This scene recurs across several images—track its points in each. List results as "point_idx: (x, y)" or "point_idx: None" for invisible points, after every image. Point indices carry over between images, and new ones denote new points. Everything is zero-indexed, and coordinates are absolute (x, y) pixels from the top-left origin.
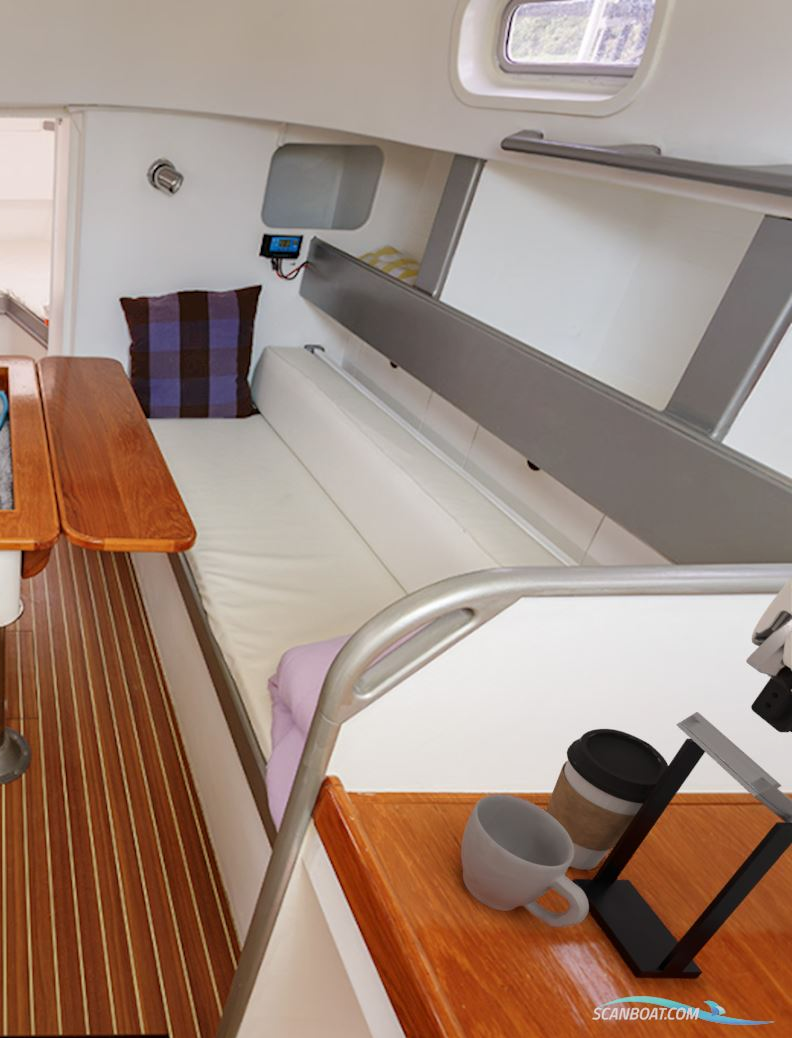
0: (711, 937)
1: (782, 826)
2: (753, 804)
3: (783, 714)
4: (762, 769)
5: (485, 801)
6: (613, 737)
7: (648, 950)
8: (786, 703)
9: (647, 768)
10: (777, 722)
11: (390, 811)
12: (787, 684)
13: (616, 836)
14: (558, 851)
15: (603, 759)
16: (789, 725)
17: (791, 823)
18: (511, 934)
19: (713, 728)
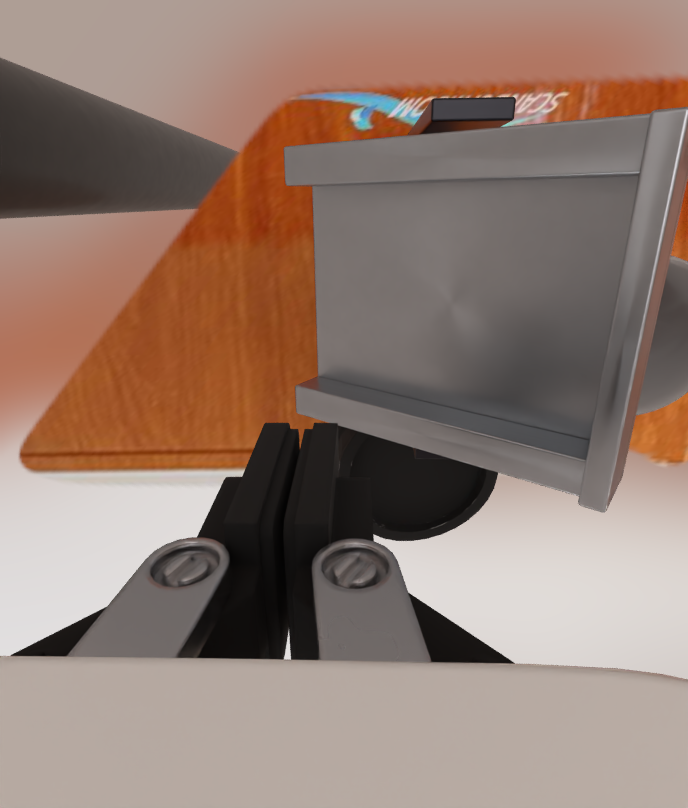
0: None
1: (513, 98)
2: (53, 453)
3: (336, 484)
4: (669, 198)
5: (651, 403)
6: (389, 522)
7: None
8: (357, 523)
9: (377, 448)
10: (337, 462)
11: (635, 431)
12: (433, 618)
13: None
14: None
15: (447, 470)
16: (331, 437)
17: (467, 114)
18: None
19: (620, 433)
